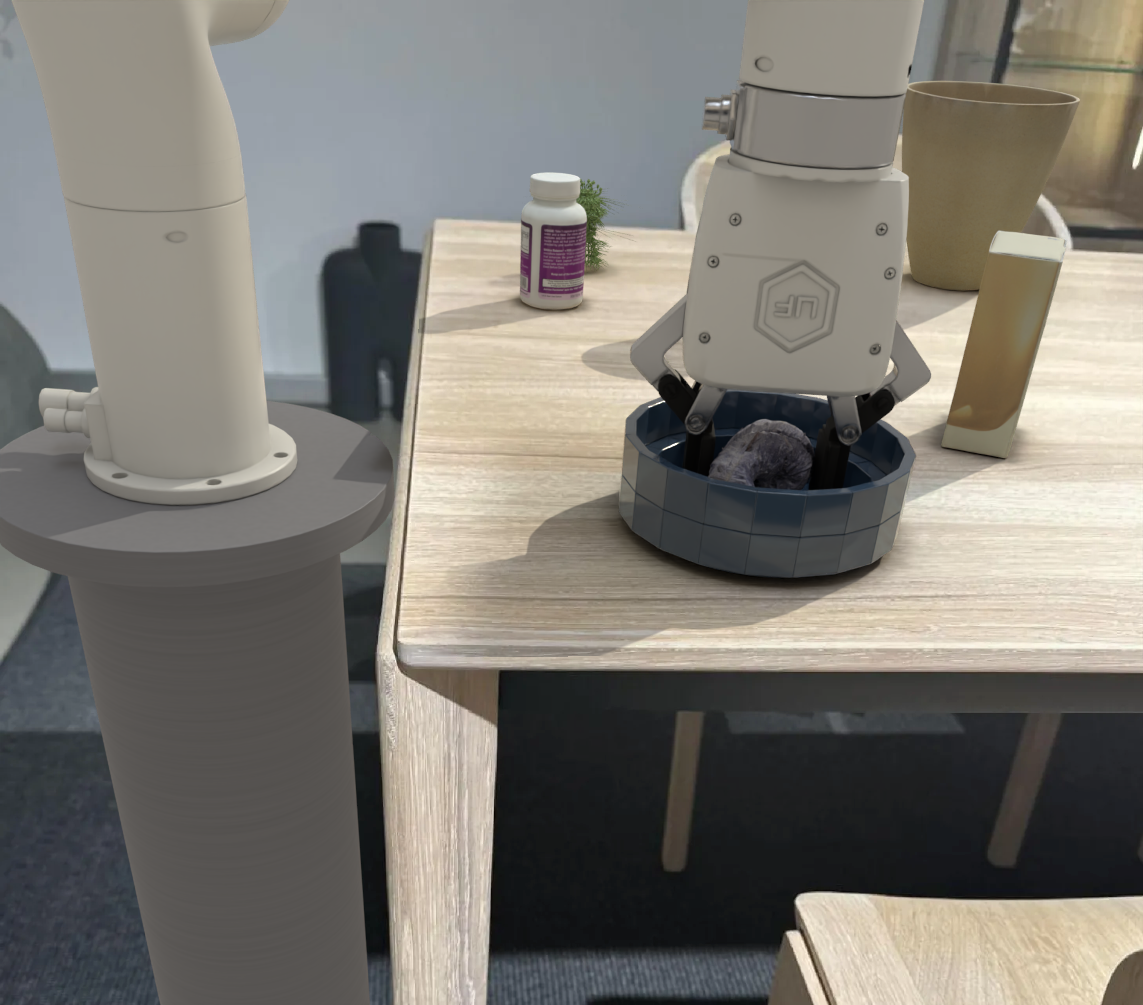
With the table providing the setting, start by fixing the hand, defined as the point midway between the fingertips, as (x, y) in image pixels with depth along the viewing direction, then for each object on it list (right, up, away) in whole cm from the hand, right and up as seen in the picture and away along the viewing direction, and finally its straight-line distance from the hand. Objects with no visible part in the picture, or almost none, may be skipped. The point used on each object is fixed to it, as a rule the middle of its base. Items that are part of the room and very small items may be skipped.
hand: (758, 498), depth 65 cm
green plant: (-9, +31, +45) cm, 55 cm away
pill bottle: (-12, +24, +35) cm, 44 cm away
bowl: (0, -1, +1) cm, 1 cm away
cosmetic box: (+17, +7, +14) cm, 23 cm away
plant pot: (+26, +31, +49) cm, 63 cm away
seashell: (0, -1, 0) cm, 1 cm away
